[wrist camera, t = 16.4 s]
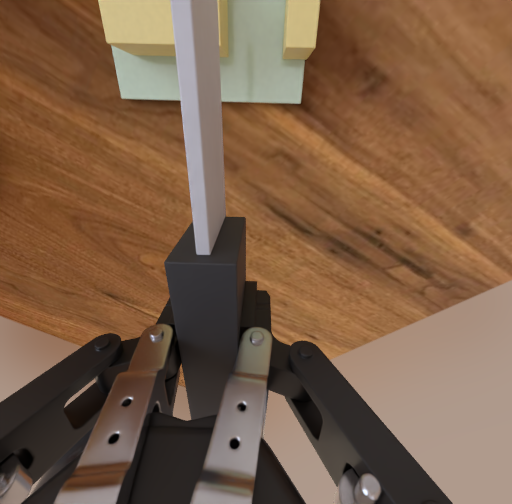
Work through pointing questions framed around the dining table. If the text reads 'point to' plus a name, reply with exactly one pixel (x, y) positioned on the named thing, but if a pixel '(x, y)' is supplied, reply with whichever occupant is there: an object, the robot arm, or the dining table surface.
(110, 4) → the butter block
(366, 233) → the dining table surface
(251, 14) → the butter board
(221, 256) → the knife
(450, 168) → the dining table surface
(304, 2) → the butter slice
